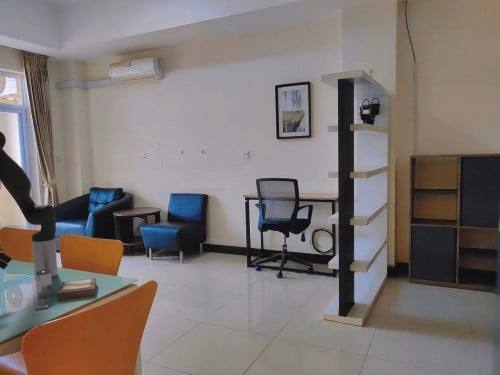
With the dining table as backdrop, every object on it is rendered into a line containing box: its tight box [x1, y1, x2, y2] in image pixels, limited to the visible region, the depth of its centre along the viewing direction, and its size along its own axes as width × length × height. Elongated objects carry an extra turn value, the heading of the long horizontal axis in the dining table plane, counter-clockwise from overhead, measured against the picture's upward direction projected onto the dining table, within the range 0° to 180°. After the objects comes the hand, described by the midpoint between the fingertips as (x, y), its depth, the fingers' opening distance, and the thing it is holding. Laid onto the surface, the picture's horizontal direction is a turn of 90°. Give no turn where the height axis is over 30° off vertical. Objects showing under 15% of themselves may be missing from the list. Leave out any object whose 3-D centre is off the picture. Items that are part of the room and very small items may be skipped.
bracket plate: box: [34, 300, 51, 311], centre depth 139 cm, size 6×4×1 cm, turn 20°
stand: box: [56, 278, 97, 302], centre depth 152 cm, size 13×13×3 cm
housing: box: [35, 269, 54, 300], centre depth 149 cm, size 5×5×10 cm
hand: (8, 264), depth 143 cm, fingers open, 8 cm apart
